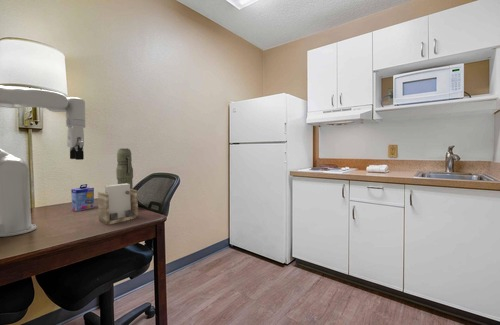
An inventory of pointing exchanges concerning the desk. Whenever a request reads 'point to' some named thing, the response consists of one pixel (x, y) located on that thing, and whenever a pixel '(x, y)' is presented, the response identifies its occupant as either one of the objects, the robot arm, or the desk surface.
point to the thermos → (124, 167)
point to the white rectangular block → (118, 199)
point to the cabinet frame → (104, 213)
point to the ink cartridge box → (82, 198)
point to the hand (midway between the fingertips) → (76, 159)
